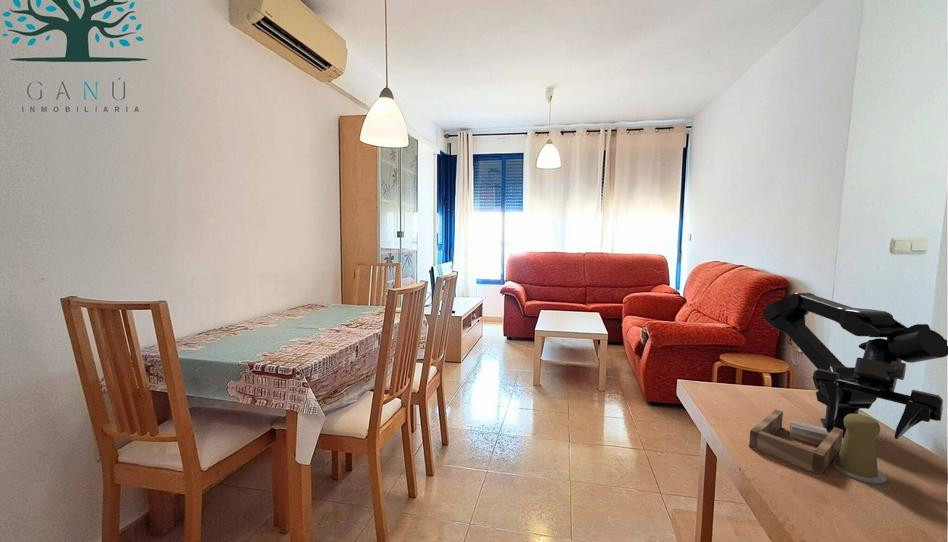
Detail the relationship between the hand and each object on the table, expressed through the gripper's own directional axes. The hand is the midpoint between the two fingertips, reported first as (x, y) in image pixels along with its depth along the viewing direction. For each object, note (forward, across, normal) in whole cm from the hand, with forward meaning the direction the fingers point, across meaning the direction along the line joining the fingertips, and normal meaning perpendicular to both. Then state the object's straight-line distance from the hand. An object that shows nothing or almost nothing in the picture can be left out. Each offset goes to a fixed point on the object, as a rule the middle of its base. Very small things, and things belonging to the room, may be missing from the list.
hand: (862, 428), depth 79 cm
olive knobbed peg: (+7, 0, +4) cm, 8 cm away
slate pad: (+7, 0, +5) cm, 9 cm away
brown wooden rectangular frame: (+7, -10, +5) cm, 13 cm away
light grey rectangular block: (+2, -9, +10) cm, 14 cm away
